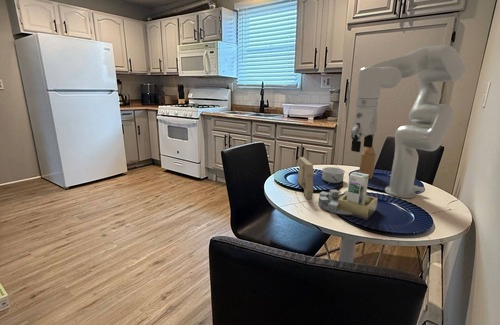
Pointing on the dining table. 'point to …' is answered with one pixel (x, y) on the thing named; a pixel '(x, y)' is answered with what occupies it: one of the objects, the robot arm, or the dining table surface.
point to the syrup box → (357, 187)
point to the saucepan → (333, 174)
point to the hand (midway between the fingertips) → (361, 149)
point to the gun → (306, 177)
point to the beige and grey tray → (346, 205)
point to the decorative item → (367, 161)
